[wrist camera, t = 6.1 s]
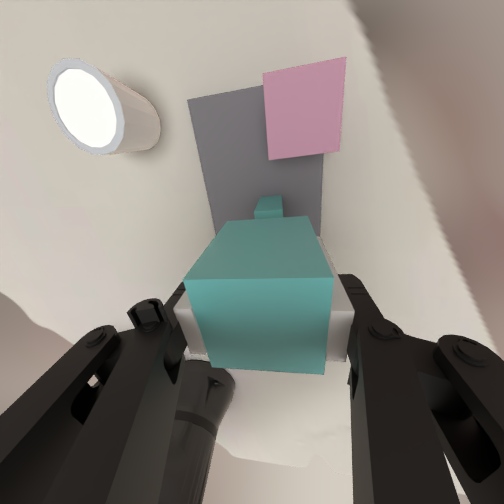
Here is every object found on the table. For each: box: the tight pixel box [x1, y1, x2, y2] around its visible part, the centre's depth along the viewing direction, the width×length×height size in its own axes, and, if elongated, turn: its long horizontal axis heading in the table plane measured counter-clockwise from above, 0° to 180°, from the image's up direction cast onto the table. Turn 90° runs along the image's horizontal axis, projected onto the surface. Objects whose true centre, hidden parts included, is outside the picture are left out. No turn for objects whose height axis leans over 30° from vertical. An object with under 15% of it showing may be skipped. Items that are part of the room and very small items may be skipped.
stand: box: [187, 57, 346, 236], centre depth 20 cm, size 14×18×9 cm
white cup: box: [47, 58, 161, 155], centre depth 19 cm, size 7×7×7 cm
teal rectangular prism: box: [183, 216, 334, 375], centre depth 11 cm, size 5×5×7 cm
